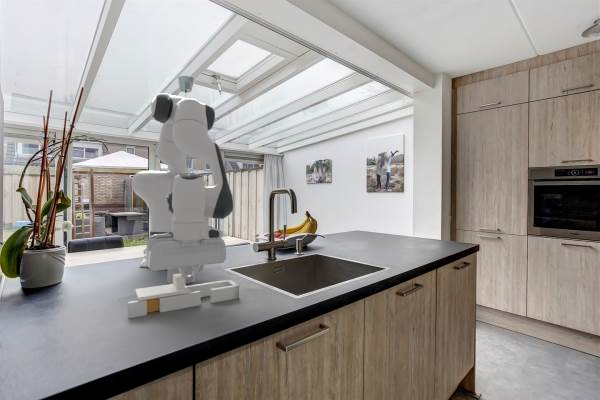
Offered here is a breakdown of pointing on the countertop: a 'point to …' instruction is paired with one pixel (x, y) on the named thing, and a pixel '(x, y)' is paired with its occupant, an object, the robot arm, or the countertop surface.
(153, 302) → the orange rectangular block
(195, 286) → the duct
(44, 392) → the countertop surface
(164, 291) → the cover
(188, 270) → the mug
